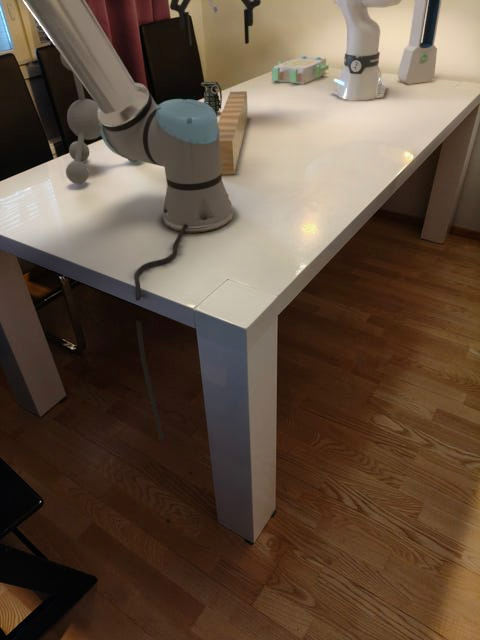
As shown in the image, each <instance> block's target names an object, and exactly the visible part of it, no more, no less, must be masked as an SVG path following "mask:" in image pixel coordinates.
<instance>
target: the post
mask: <svg viewBox="0 0 480 640" xmlns="http://www.w3.org/2000/svg"><path fill="white" fill-rule="evenodd" d="M248 112H249V111H248V92H247V91H246V90H245V91H244V90H243V91H230V92H229V94H228V96H227V99H226V101H225V103H224V107H223V108H222V112H221V114H220V116H219V119H218V120H217V123H218V127H219V141H220V158H221V174H222V175H235V173H236V168H237V164H238V162H239V161H238V160H239V157H240V153H241V148H242V144H243V139H244V136H245V131H246V127H247V123H248V119H249V117H248V116H249V115H248V114H249V113H248Z"/></svg>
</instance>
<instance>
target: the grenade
mask: <svg viewBox="0 0 480 640" xmlns="http://www.w3.org/2000/svg"><path fill="white" fill-rule="evenodd" d="M200 85H201V86H202V87H205V88H206V91H205V92H204V96H203V103H206V104H207V105H209V106H210V107H212V108H213V110H214V111H215V113H216V114H218V112H220V110H221V109H222V101H223V93H222V88H221V85H220V83H219V82H218V81H202V82H201V83H200Z"/></svg>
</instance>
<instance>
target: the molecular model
mask: <svg viewBox="0 0 480 640" xmlns="http://www.w3.org/2000/svg"><path fill="white" fill-rule="evenodd" d="M60 61H61V64H62V65H63V67H65V69H67V70H68V71H71V72H72V74H73V79H74V84H75V87H76V91H77V95H78V99H77V100H75V101H74V102H72V104H71V105H70V106H69V108H68V109H67V114H66V116H67V117H66V119H67V124H68V127H69V129H70V130H71V131H72V133H73V134H74V135H75V136H77V140H76V141H73V142H72V143H71V144H70V146H69V148H68V153H69V155H70V157H71V158H72V159H73V160H74V161H72V162H70V163H68V164H67V166H66V168H65V175H66V177H67V179H68V180H69V181H70V182H71V183H73V184H75V185H76V184H77V185H80V184H81V185H82V184H83V183H85V182H87V180H88V179H89V177H90V176H89V175H90V173H89V169H88V167H87V165H86V164H84V163H83V162H85V161H86V160H88V158H89V157H90V148H89V147H88V145H87V144H86V143H85V140H87V141H88V140H89V141H90V140H95V139H98V138H99V137H102V136H101V132H100V130H101V126H100V121H99V119H98V109H99V107H98V105H97V104H96V102H95V101H94V99H90V98H86V96H85V91H84V85H83V84H82V83H81V81H80V80H79V78H78V77H77V76H76V74H75V73H74V71H73V70H72V69H71V67H70V66H69V64H68V63H67V62H66V60H65V59H64V57H63V56H62V55H61V54H60ZM127 160H128V161H129V162H130V163H139V162H140V161H137V160H130V159H127Z"/></svg>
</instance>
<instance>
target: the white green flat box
mask: <svg viewBox="0 0 480 640" xmlns="http://www.w3.org/2000/svg"><path fill="white" fill-rule="evenodd" d="M329 67H330V66H329V65H328V64H327V58H326V57H321V56H318V57H311V56H306V55H303V56H301V57H299V58H293V59H289V60H287V61H277V64H276V65H274V67H272V68H271V81H272V82H273V81H274V82H281V83H290V84H291V83H292V84H301V85H305V84H307V83H309V82H312V81H314V80H316V79H318V78H321V77H322V76H323V75H325V74H326V71H327V70H329Z"/></svg>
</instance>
